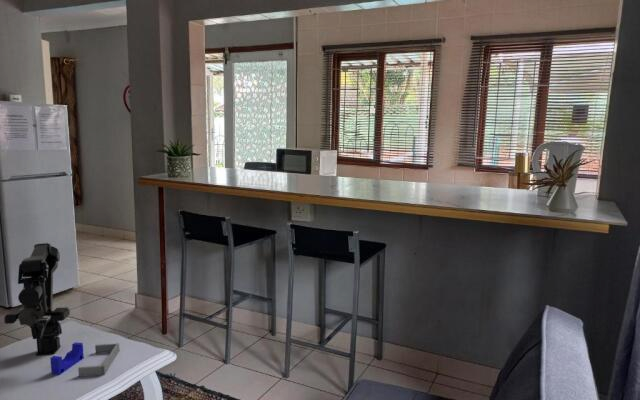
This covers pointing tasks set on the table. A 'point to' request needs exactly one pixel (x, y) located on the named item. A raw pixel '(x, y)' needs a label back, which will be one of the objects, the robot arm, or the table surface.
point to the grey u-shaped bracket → (103, 368)
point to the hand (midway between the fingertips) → (39, 338)
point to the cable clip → (67, 359)
